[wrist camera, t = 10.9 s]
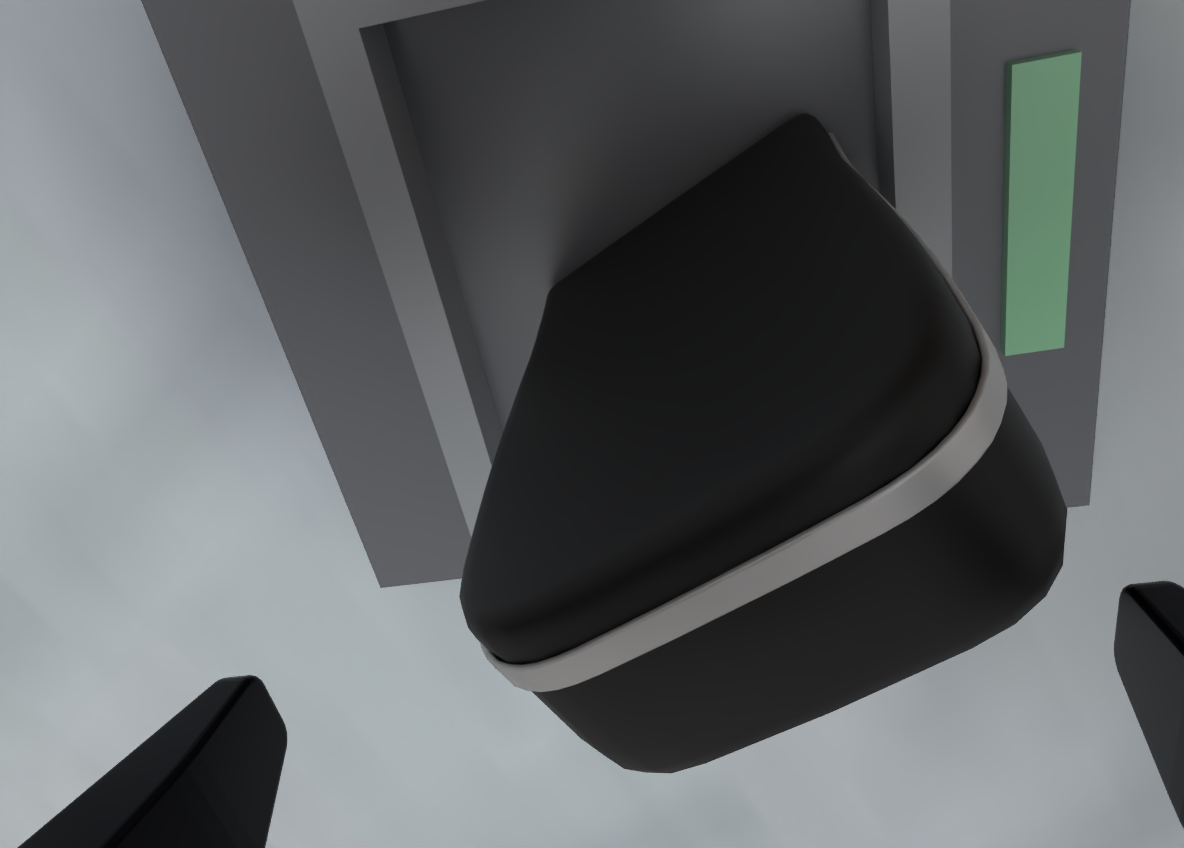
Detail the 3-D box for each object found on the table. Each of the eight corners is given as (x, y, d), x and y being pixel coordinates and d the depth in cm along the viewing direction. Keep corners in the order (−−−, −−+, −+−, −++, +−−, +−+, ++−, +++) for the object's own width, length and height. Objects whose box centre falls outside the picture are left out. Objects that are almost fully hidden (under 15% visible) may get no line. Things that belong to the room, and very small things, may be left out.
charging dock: (1124, -253, 15) (1200, -277, 13) (1072, 481, 22) (1116, 543, 20) (159, -20, 18) (91, -10, 16) (390, 564, 25) (364, 626, 23)
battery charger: (636, 415, 21) (613, 867, 11) (534, 291, 20) (406, 683, 10) (910, 248, 19) (1186, 637, 9) (816, 92, 17) (1019, 349, 7)
